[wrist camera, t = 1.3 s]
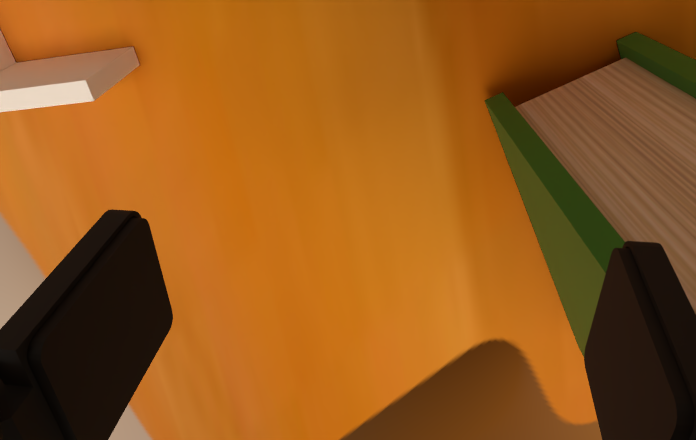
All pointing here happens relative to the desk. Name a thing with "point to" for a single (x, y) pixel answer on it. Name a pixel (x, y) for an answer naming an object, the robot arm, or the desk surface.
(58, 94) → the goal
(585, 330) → the hardback book
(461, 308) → the desk surface
